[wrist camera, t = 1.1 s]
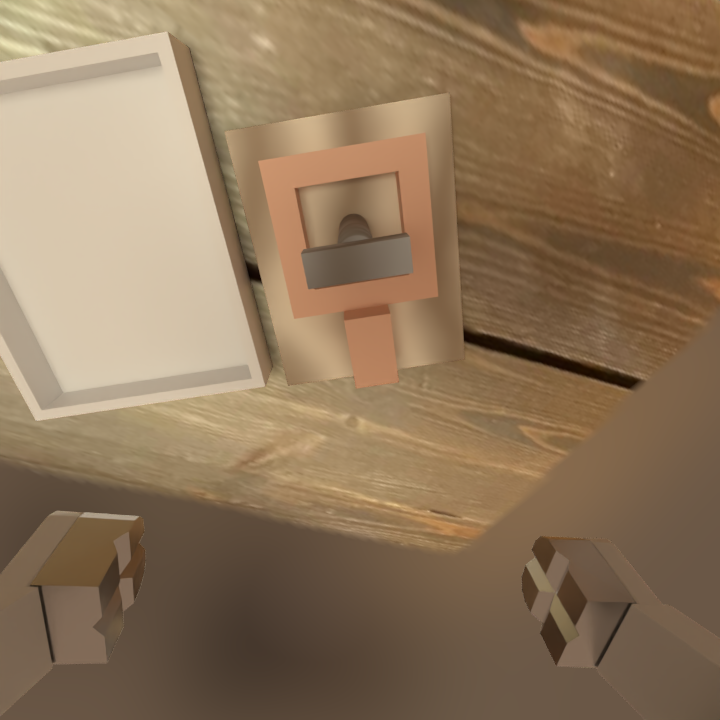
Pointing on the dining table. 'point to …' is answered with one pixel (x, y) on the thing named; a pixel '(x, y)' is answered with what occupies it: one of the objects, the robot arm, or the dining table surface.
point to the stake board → (382, 210)
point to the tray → (118, 235)
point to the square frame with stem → (369, 297)
